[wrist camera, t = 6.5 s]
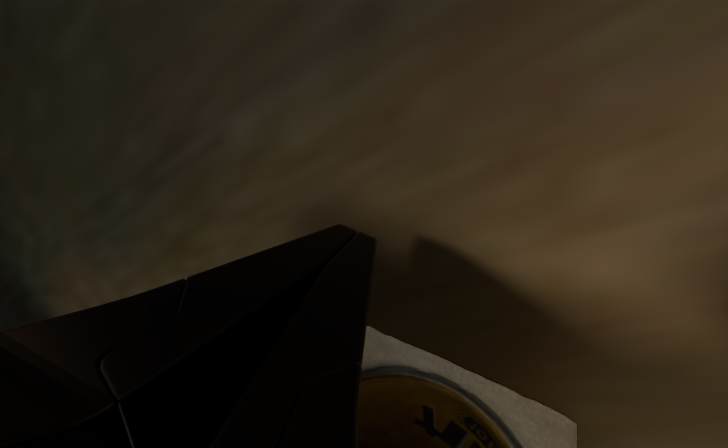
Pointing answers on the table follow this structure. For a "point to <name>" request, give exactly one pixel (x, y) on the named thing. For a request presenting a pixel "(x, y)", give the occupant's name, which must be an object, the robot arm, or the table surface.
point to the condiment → (445, 405)
